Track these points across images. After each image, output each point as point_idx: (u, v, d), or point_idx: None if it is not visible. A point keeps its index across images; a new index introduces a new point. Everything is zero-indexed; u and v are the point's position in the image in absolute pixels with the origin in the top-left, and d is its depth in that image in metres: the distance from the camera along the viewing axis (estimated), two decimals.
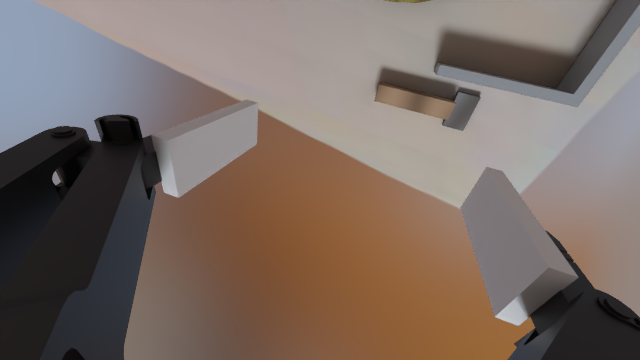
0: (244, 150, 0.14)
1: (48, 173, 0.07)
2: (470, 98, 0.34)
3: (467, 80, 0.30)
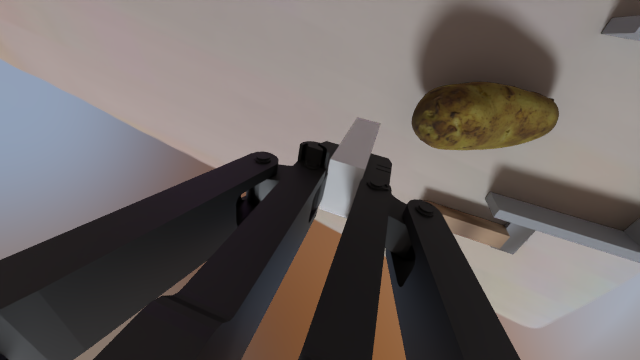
0: None
1: (236, 195, 0.08)
2: (524, 229, 0.32)
3: (528, 226, 0.28)
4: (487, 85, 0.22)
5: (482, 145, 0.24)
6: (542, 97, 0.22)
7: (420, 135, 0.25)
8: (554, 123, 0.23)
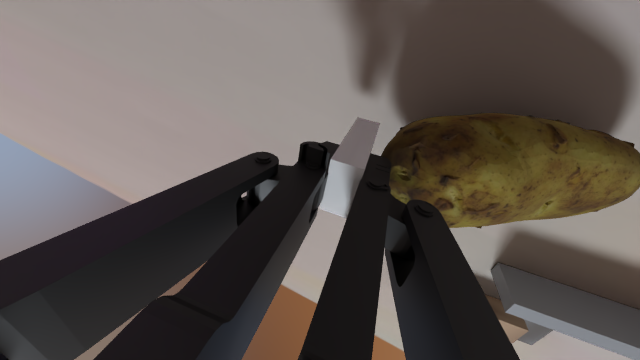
0: None
1: (236, 195, 0.08)
2: None
3: (561, 331, 0.18)
4: (512, 122, 0.11)
5: (500, 223, 0.13)
6: (617, 143, 0.12)
7: None
8: (636, 189, 0.12)
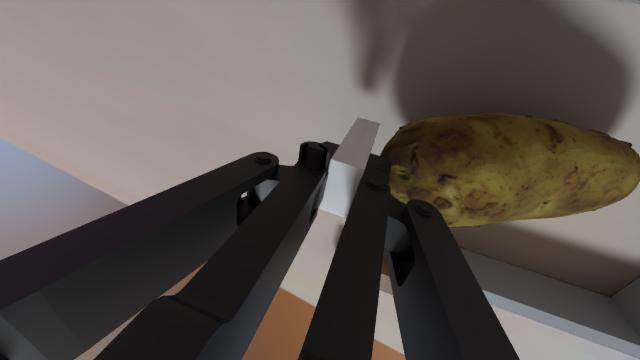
0: None
1: (236, 195, 0.08)
2: None
3: None
4: (510, 122, 0.11)
5: None
6: (614, 143, 0.12)
7: None
8: (633, 188, 0.12)
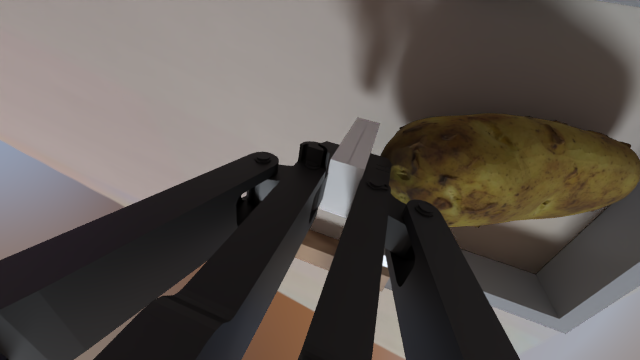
0: None
1: (236, 195, 0.08)
2: None
3: None
4: (510, 122, 0.11)
5: None
6: (614, 144, 0.12)
7: None
8: (632, 189, 0.12)
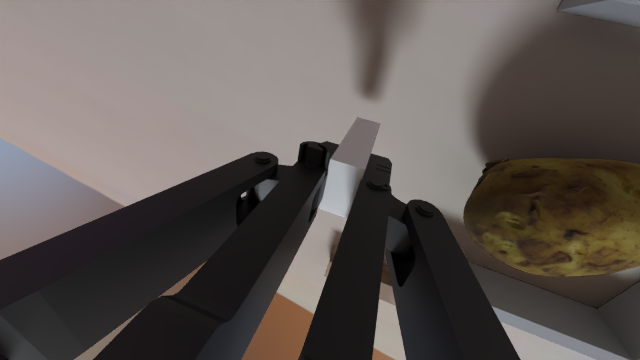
0: None
1: (236, 195, 0.08)
2: None
3: None
4: None
5: None
6: None
7: (483, 245, 0.13)
8: None
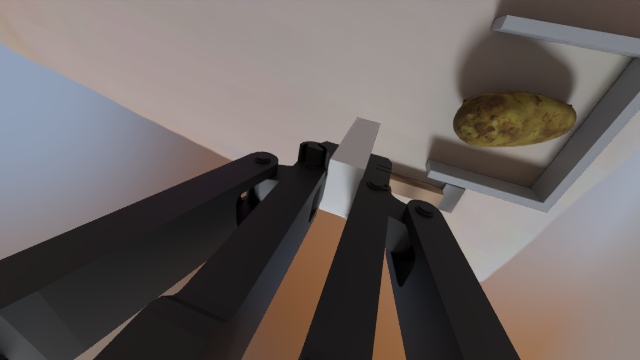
0: None
1: (236, 195, 0.08)
2: (456, 189, 0.39)
3: (453, 183, 0.35)
4: (519, 94, 0.27)
5: (513, 142, 0.29)
6: (563, 103, 0.27)
7: (461, 134, 0.30)
8: (572, 124, 0.28)
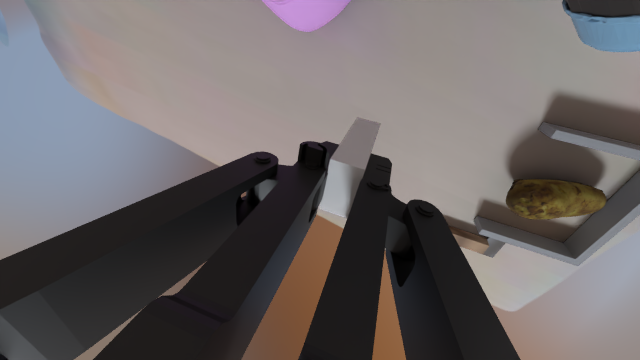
0: None
1: (236, 195, 0.08)
2: None
3: (501, 240, 0.44)
4: (563, 185, 0.35)
5: None
6: (597, 191, 0.35)
7: (514, 210, 0.38)
8: (603, 206, 0.36)
